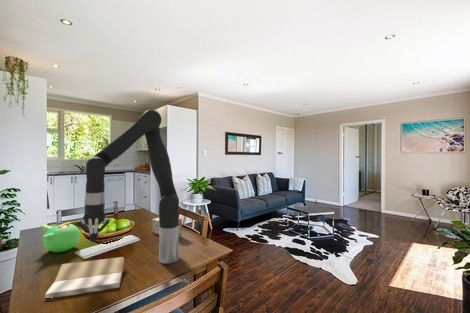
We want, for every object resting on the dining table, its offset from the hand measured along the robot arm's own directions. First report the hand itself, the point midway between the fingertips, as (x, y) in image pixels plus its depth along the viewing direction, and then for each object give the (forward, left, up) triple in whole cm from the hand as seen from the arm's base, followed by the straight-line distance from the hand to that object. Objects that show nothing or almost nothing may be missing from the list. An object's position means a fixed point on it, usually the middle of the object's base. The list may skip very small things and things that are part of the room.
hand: (93, 241), depth 99 cm
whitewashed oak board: (0, +11, -14) cm, 18 cm away
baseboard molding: (-2, -28, -15) cm, 32 cm away
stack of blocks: (-33, -38, -15) cm, 53 cm away
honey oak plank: (0, +2, -12) cm, 13 cm away
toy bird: (+22, -30, -14) cm, 40 cm away
